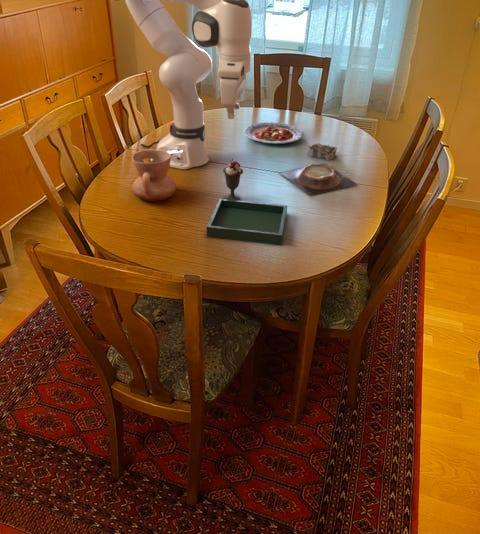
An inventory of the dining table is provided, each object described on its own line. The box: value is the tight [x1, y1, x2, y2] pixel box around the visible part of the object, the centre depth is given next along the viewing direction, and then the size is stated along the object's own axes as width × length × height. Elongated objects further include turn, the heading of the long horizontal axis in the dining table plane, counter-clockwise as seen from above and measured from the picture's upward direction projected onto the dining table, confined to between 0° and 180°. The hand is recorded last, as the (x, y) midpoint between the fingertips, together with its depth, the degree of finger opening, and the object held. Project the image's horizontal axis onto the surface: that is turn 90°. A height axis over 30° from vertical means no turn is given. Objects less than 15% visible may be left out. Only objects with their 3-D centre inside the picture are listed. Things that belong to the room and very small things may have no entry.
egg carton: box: [308, 142, 338, 161], centre depth 184 cm, size 11×8×4 cm
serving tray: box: [206, 198, 288, 246], centre depth 139 cm, size 22×18×3 cm
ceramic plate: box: [243, 121, 304, 145], centre depth 200 cm, size 26×26×3 cm
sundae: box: [222, 158, 244, 201], centre depth 149 cm, size 7×7×15 cm
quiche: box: [280, 162, 357, 196], centre depth 166 cm, size 21×20×4 cm
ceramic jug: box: [131, 148, 177, 202], centre depth 149 cm, size 18×14×14 cm
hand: (234, 113), depth 136 cm, fingers open, 8 cm apart
